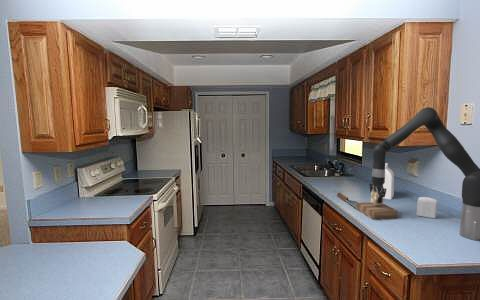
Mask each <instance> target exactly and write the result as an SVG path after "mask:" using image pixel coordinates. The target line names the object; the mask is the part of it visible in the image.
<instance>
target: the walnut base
mask: <svg viewBox="0 0 480 300" xmlns="http://www.w3.org/2000/svg"><path fill="white" fill-rule="evenodd" d="M357 208H358V209H356V211H358V212H360V213H361V214H363V215H364V216H366V217H368V218H370V219H371V220H374V221H376V220H378V221H379V220H392V219H398V213H399V212H398V210H397V209H395V208H393V207H392V206H389V205H387V204H385V203H383V204H374V203H372V202H371V201H365V202H358V203H357Z"/></svg>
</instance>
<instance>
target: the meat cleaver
mask: <svg viewBox="0 0 480 300" xmlns="http://www.w3.org/2000/svg"><path fill="white" fill-rule="evenodd" d="M336 197H338V198H339V199H340V200H341V201H343V202H347V203H348V204H350V205H351V206H353V208H355V209H356V210H357V209H358V208H357V203H359V201H355V200H350V199H349V197H347V196H346V195H345V194H343V193H341V192H338V193H337V195H336Z"/></svg>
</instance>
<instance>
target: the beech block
mask: <svg viewBox="0 0 480 300" xmlns="http://www.w3.org/2000/svg"><path fill="white" fill-rule="evenodd" d="M370 194H371V195H370V196H371V197H370V202H372V203H374V204H384V198H383V197H382V203H378V193H377V191H376V192H373V191H371V193H370Z"/></svg>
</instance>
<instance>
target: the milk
mask: <svg viewBox="0 0 480 300" xmlns="http://www.w3.org/2000/svg"><path fill="white" fill-rule="evenodd" d="M383 188H386V189H387V190H386V194H385V197H383V199H386V200H392V199H393V198H394V195H395V194H394V193H395V192H394V191H395V190H394V189H395V173H394V171H393V170H392V168H390V167H389V163H387V162H385V183H384V184H383Z"/></svg>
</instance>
